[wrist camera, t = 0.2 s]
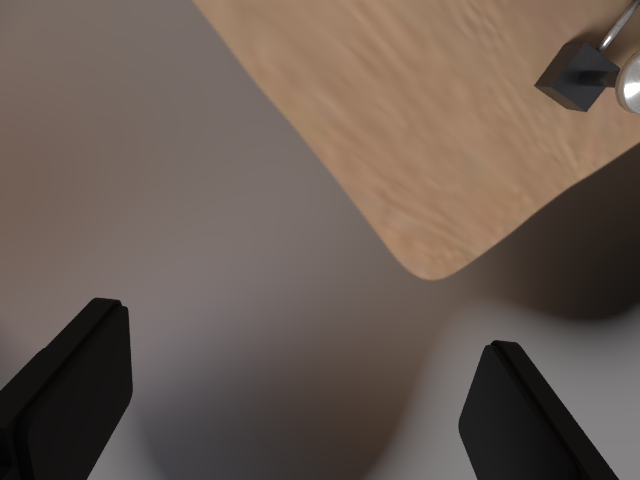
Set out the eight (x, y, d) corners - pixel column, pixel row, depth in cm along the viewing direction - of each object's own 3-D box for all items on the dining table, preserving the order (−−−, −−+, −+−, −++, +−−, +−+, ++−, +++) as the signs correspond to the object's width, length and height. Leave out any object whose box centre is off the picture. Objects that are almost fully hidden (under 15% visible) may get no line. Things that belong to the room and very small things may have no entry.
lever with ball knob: (566, 112, 38) (657, 127, 28) (530, 86, 37) (610, 93, 27) (647, 8, 35) (782, -17, 25) (610, -22, 34) (734, -61, 24)
